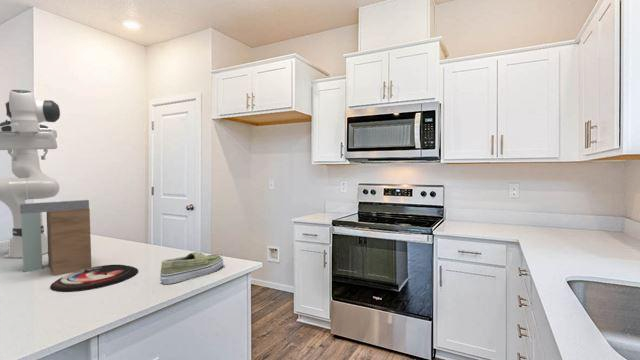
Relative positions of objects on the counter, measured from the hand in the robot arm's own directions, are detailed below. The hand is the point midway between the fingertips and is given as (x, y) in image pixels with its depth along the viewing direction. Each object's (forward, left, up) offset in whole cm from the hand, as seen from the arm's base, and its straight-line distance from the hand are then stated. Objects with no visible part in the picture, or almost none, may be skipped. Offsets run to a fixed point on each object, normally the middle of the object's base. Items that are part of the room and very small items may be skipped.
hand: (29, 160), depth 145 cm
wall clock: (+37, +18, -48) cm, 63 cm away
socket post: (+2, 0, -47) cm, 47 cm away
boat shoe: (+60, +48, -48) cm, 90 cm away
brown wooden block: (+10, +12, -47) cm, 50 cm away
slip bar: (+18, +7, -21) cm, 29 cm away
